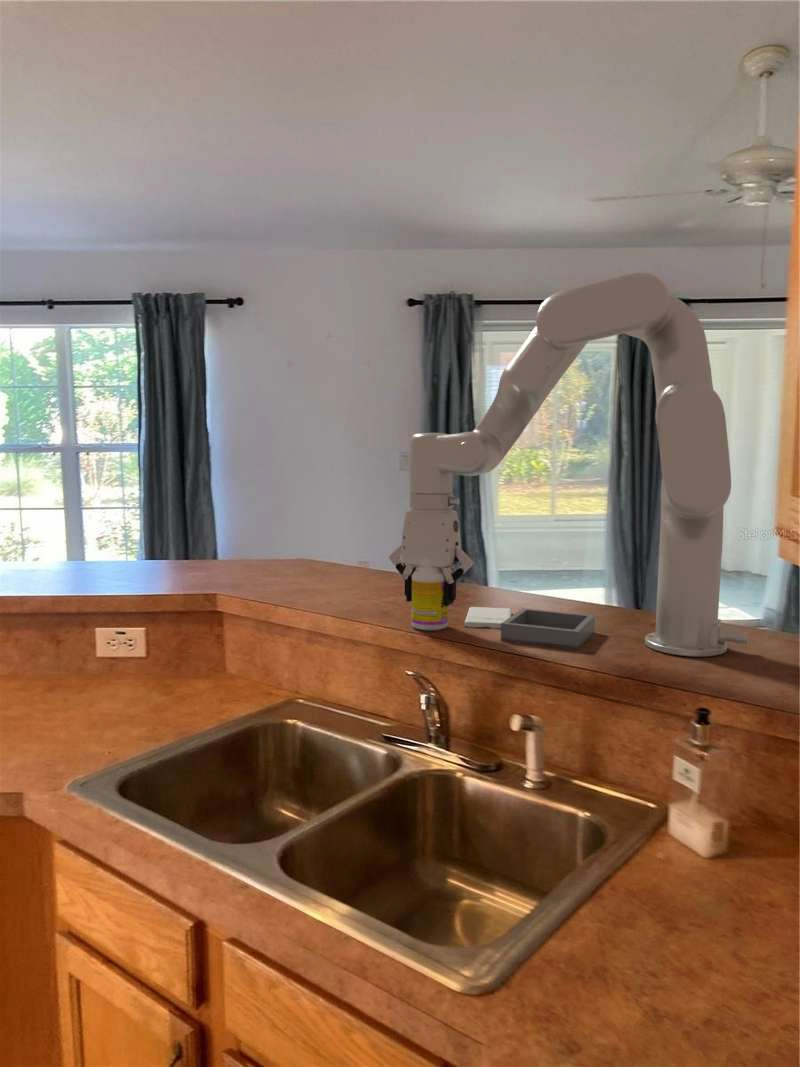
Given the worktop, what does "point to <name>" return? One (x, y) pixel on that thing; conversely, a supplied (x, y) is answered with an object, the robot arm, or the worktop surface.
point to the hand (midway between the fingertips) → (429, 601)
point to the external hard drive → (486, 617)
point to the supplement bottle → (428, 598)
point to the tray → (548, 628)
